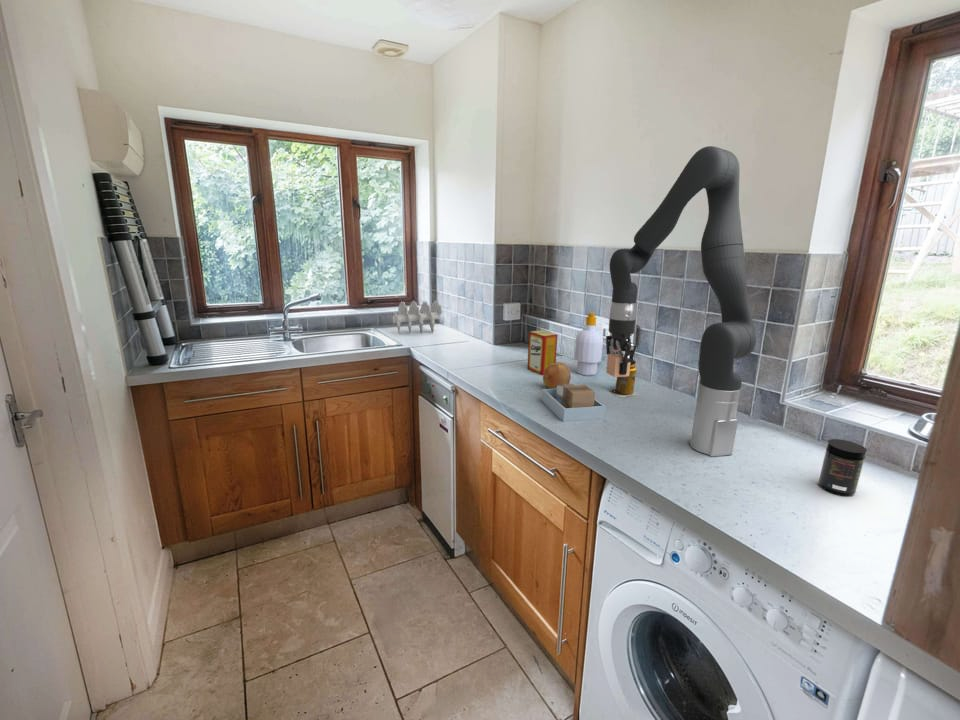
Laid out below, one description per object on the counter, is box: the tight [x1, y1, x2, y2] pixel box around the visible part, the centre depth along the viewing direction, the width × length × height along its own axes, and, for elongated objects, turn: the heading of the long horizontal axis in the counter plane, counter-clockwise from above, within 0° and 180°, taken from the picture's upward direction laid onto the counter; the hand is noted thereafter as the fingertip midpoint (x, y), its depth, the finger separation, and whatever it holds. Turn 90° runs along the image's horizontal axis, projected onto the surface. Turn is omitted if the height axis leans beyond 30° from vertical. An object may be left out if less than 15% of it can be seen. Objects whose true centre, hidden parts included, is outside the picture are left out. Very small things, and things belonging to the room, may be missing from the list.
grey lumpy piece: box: [392, 300, 443, 335], centre depth 249 cm, size 18×18×25 cm
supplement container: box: [817, 438, 868, 497], centre depth 101 cm, size 7×7×10 cm
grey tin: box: [556, 383, 574, 405], centre depth 147 cm, size 6×6×6 cm
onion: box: [542, 361, 572, 389], centre depth 162 cm, size 10×10×10 cm
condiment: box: [608, 359, 639, 399], centre depth 160 cm, size 7×8×12 cm
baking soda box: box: [527, 329, 559, 376], centre depth 183 cm, size 10×6×16 cm
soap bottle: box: [574, 312, 604, 376], centre depth 181 cm, size 10×10×24 cm
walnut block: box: [562, 384, 596, 408], centre depth 139 cm, size 7×7×8 cm
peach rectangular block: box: [605, 354, 631, 378], centre depth 142 cm, size 5×5×6 cm
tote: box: [541, 388, 607, 423], centre depth 143 cm, size 18×13×4 cm
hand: (617, 371), depth 142 cm, fingers closed on peach rectangular block, 5 cm apart
